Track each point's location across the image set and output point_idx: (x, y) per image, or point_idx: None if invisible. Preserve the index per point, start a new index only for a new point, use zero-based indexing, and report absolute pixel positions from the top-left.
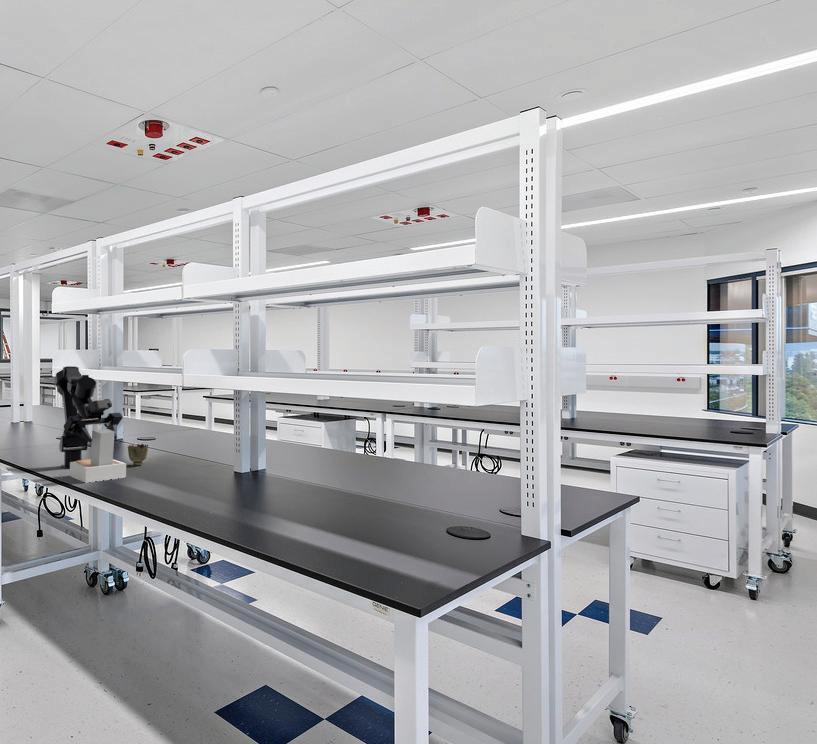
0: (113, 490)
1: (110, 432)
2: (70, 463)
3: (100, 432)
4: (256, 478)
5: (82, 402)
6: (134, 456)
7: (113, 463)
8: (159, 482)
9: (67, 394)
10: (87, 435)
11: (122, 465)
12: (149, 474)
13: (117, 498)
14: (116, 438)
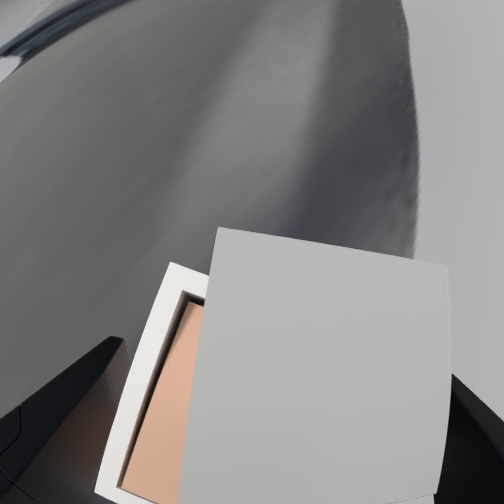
0: (370, 144)
1: (295, 244)
2: None
3: (433, 309)
4: (82, 4)
5: None
6: None
7: (176, 367)
8: (200, 102)
9: None
10: (488, 408)
11: (192, 271)
12: (87, 240)
13: (405, 84)
14: (121, 343)
